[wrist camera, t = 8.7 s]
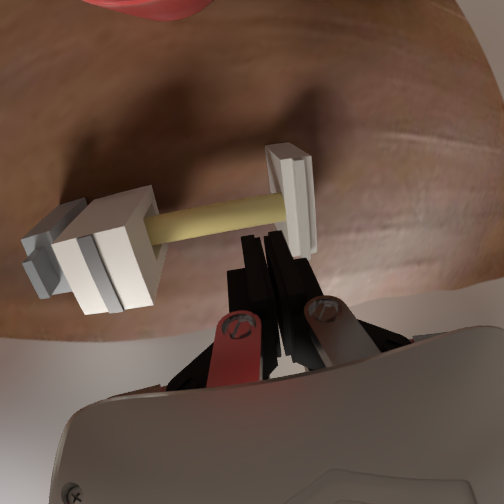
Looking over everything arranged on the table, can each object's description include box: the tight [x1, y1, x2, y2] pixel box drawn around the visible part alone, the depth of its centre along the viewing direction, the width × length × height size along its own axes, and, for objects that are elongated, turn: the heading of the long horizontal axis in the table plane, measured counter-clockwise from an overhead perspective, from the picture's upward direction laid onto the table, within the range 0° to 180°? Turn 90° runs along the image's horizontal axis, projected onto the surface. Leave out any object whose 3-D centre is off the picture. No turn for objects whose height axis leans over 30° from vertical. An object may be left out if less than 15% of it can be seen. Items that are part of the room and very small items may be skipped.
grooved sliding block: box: [51, 185, 168, 315], centre depth 19 cm, size 5×5×8 cm
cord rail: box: [21, 142, 317, 299], centre depth 20 cm, size 21×7×9 cm, turn 98°
